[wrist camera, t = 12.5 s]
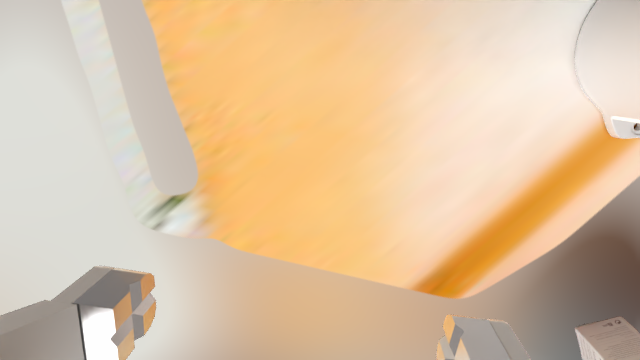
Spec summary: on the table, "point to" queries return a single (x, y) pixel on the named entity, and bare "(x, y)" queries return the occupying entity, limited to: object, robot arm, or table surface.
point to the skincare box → (609, 340)
